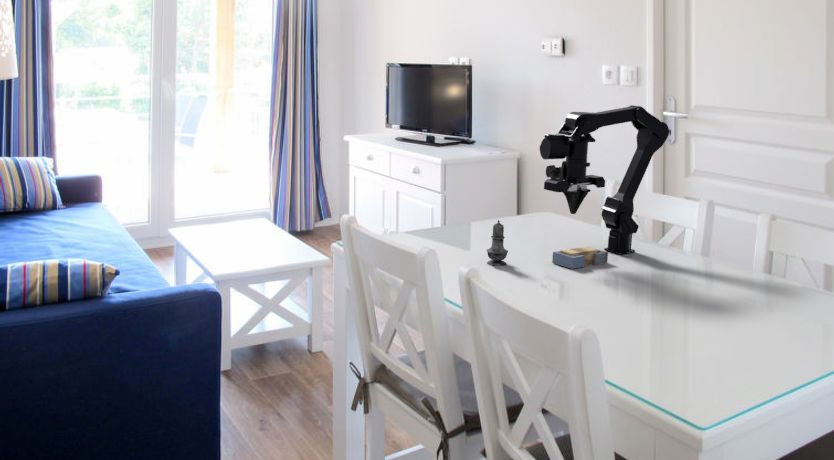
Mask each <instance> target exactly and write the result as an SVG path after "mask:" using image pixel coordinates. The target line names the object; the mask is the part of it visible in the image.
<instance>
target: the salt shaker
mask: <svg viewBox="0 0 834 460" xmlns="http://www.w3.org/2000/svg"><path fill="white" fill-rule="evenodd" d="M504 229H505V227H504V225H503V224H502V223H501V221H500V220H497V223H495V224H493V226H492V235H491V239H492V240H491V246H490V248H487V249H486V252H487V257H488V258H489V259H490V260H489V261H487V262H486V264H487V265H488V266H493V267H504V266H507V262H506V261H504V260H505V259H506V257H507V256H508V253H509V250H508V249H505V247H504V239H505V238H506V237H505V236H504V234H505V233H504Z"/></svg>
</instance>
